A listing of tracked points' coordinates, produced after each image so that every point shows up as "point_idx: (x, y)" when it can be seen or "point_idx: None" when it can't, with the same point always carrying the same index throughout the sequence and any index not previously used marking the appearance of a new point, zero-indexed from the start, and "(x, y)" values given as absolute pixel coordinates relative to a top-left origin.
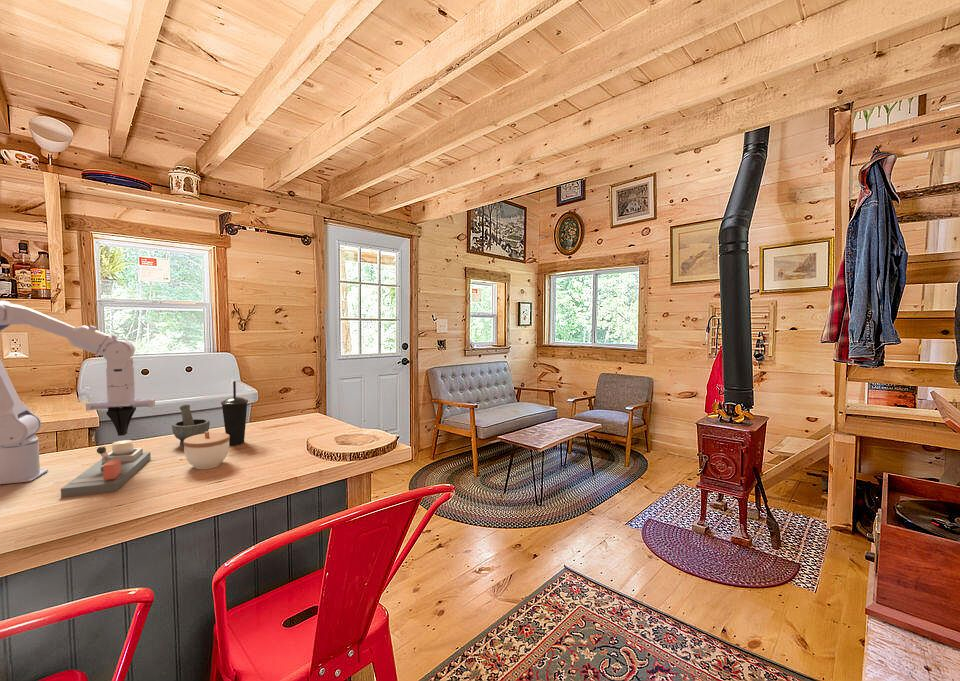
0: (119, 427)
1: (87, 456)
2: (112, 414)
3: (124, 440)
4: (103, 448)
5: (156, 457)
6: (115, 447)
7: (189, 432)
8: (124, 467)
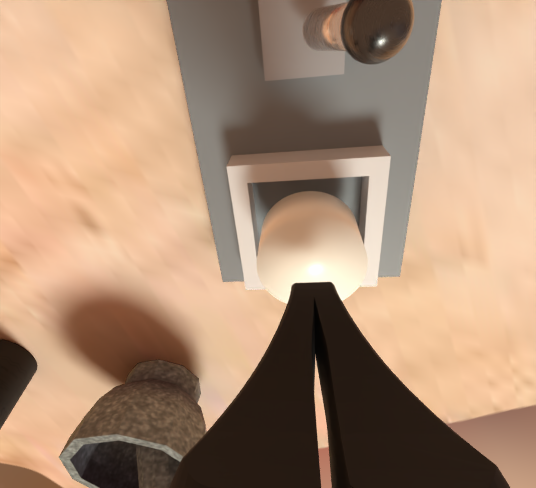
0: (322, 324)
1: (483, 343)
2: (411, 461)
3: None
4: (356, 3)
5: (213, 273)
6: (333, 213)
7: (116, 405)
8: (222, 22)
